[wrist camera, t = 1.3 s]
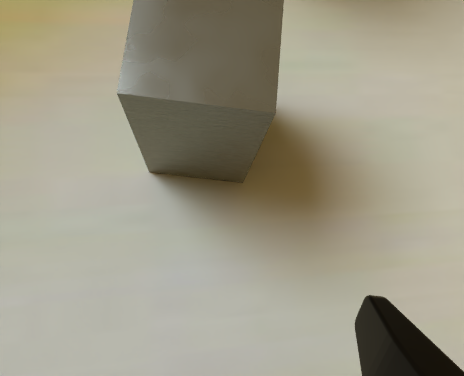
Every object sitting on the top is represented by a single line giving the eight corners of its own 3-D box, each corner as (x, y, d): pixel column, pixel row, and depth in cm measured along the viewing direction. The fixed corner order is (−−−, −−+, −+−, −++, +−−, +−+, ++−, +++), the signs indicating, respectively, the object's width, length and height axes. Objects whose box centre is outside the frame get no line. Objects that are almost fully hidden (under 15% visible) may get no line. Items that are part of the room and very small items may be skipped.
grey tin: (242, 182, 24) (275, 113, 14) (149, 171, 23) (116, 92, 14) (250, 97, 25) (284, -19, 15) (162, 86, 25) (140, -40, 15)
